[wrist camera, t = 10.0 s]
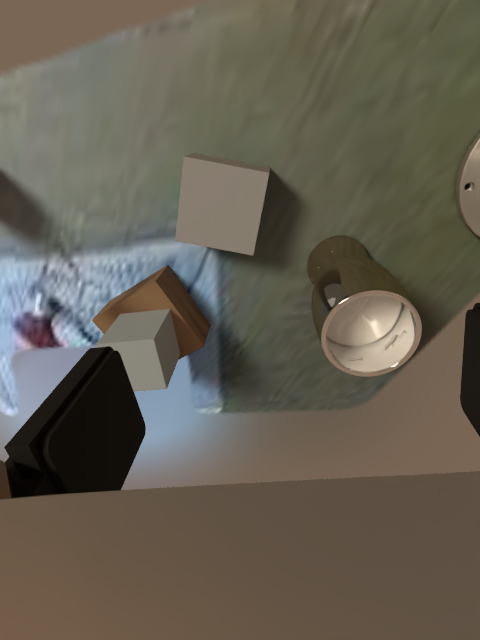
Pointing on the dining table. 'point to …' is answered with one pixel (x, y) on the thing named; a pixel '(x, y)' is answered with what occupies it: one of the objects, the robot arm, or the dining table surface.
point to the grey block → (221, 203)
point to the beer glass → (360, 310)
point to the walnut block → (161, 308)
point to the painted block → (145, 347)
